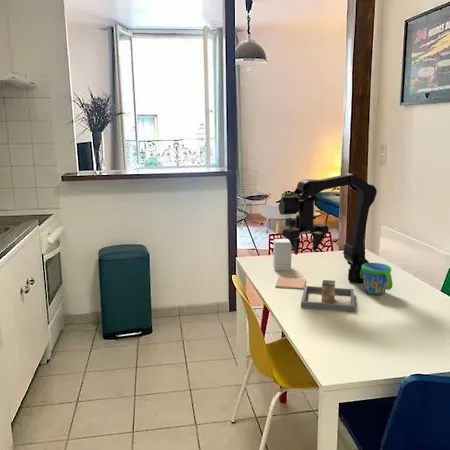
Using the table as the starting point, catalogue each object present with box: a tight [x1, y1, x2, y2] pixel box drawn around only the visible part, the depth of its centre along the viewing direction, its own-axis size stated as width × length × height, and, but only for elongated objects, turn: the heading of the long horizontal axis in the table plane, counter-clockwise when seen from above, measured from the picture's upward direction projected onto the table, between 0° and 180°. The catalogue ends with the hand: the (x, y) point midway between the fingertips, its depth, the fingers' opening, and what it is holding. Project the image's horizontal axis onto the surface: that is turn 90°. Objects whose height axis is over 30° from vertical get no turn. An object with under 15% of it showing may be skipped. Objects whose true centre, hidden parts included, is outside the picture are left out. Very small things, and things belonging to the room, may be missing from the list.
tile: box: [275, 276, 307, 290], centre depth 195 cm, size 11×11×1 cm
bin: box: [300, 285, 356, 313], centre depth 176 cm, size 18×18×2 cm
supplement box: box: [272, 238, 293, 271], centre depth 215 cm, size 7×7×13 cm
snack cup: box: [360, 262, 393, 296], centre depth 184 cm, size 16×10×10 cm
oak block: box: [321, 279, 336, 304], centre depth 175 cm, size 4×4×7 cm
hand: (305, 252), depth 188 cm, fingers open, 9 cm apart
